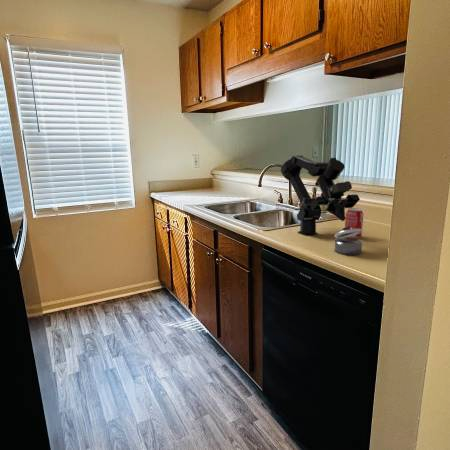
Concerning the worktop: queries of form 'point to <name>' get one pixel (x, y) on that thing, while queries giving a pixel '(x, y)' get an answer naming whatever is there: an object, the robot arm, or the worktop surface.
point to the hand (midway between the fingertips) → (343, 220)
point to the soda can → (354, 220)
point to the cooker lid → (347, 232)
